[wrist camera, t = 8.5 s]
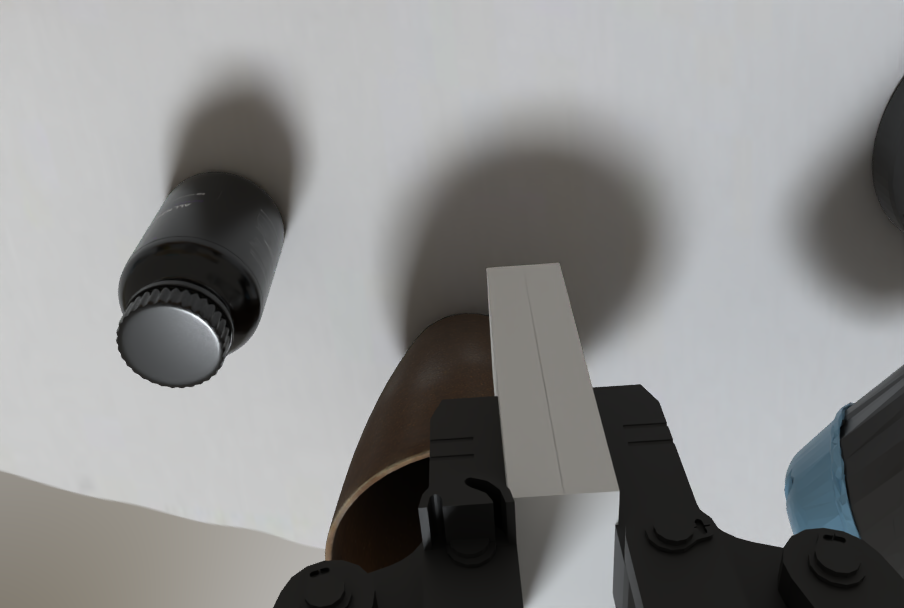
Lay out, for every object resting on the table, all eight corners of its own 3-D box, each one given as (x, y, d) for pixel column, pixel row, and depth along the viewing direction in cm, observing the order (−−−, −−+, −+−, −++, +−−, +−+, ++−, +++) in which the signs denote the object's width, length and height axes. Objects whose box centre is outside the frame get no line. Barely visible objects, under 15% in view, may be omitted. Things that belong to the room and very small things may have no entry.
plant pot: (444, 482, 58) (455, 694, 44) (297, 349, 51) (257, 551, 38) (625, 374, 53) (697, 573, 40) (489, 213, 47) (521, 387, 33)
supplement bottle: (178, 149, 44) (107, 258, 34) (300, 193, 46) (269, 309, 35) (151, 254, 47) (79, 381, 37) (266, 291, 49) (228, 423, 39)
